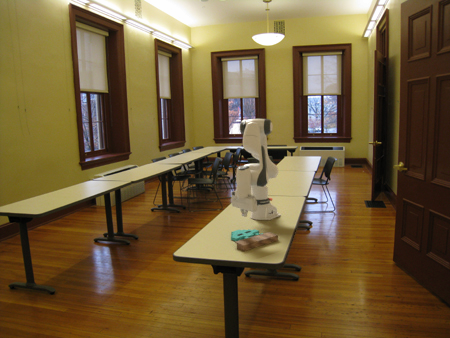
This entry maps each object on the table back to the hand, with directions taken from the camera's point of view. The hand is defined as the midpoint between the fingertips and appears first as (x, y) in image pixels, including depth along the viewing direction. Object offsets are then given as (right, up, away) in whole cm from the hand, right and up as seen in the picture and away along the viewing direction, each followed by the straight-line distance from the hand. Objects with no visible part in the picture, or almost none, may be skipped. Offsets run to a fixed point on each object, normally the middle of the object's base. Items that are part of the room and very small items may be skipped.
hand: (244, 216), depth 217 cm
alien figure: (+2, -14, +3) cm, 14 cm away
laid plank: (+7, -15, -10) cm, 19 cm away
